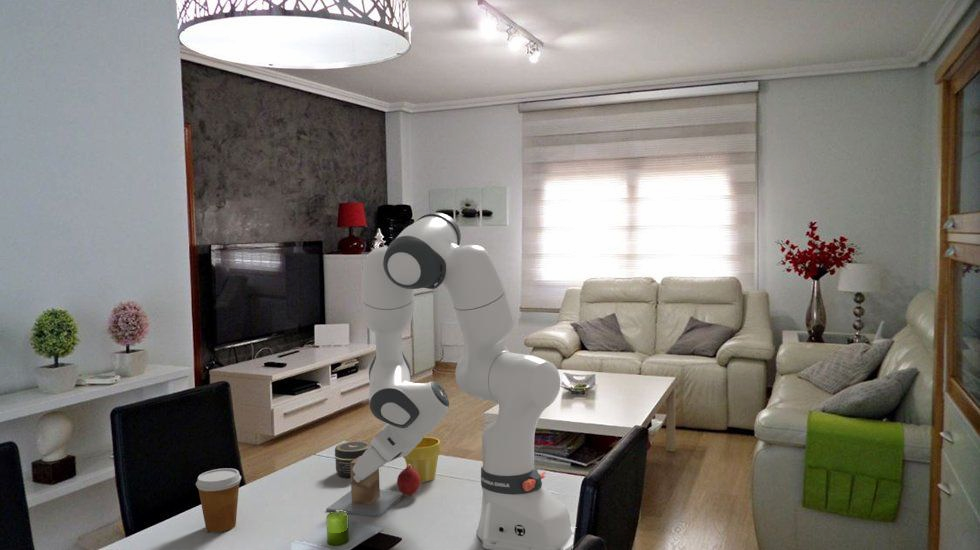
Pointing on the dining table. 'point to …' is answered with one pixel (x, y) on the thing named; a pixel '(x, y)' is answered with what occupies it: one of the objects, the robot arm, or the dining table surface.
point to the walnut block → (364, 487)
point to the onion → (408, 481)
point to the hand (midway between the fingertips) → (363, 474)
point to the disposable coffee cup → (219, 498)
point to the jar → (348, 456)
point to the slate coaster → (375, 509)
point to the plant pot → (425, 458)
